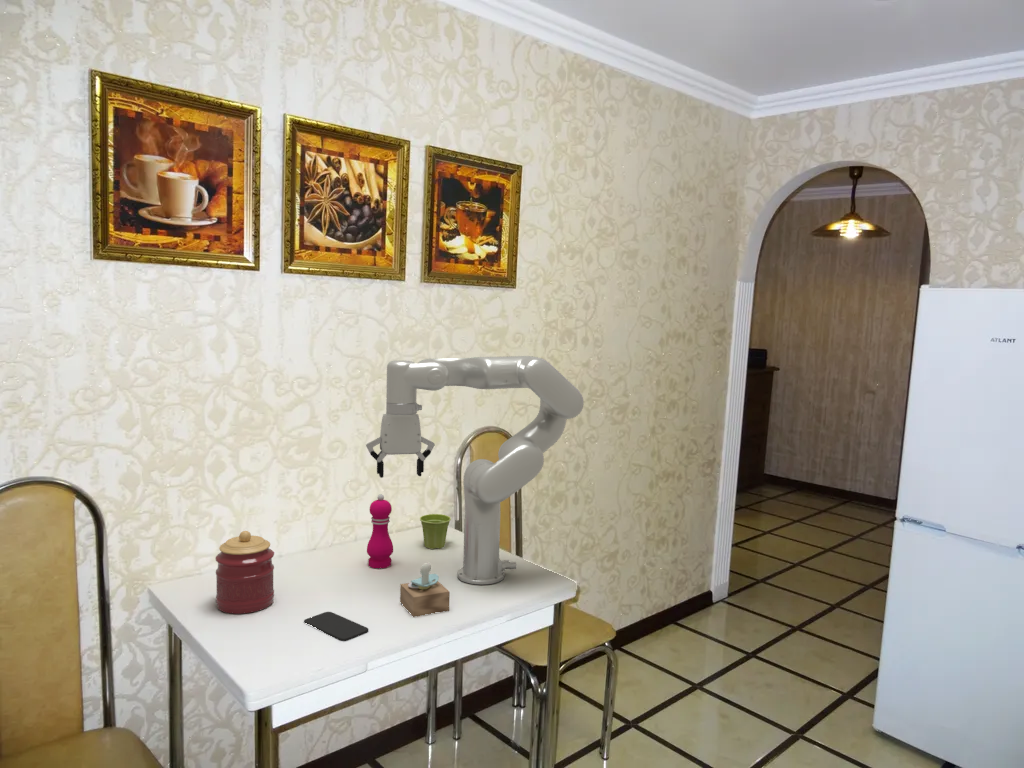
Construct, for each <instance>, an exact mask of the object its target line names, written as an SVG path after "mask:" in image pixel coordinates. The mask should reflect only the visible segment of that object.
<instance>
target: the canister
mask: <svg viewBox="0 0 1024 768" xmlns="http://www.w3.org/2000/svg"><path fill="white" fill-rule="evenodd" d="M270 547H271V542H270V540H269V541H268V539H265V538H263V537H262V536H258V535H252V534H251V532H250V531H249V530H243V531H241V532H240V533H239V534H238V536H235V537H231V538H229V539H228V540H226V541H225V542H224V543H221V544H220V546H219V547H218V549H219V551H220V552H218V553H217V554H216V556H215V561H216V562H217V569H216V570H215V575H216V578H215V579H216V595H215V603H216V607H217V609H218V610H219V611H221V612H223V613H226V614H235V615H239V614H240V615H241V614H250V613H255V612H258V611H262V610H264V609H267V608H268V607H269V606H271V605H272V604H273V602H274V598H275V589H274V570H275V565H274V564H273V559H272V558H273V557H274V556H275V552H274V551H273V550H272V549H271V548H270Z"/></svg>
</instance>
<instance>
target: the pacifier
mask: <svg viewBox="0 0 1024 768" xmlns="http://www.w3.org/2000/svg"><path fill="white" fill-rule="evenodd" d="M431 569H432V565H431V563H430V562H424V563H423V564H422V565H421V568H420V571H419V572H420V575H421V577H419V578H416V579H412V580H410V582H408V583H409V584H408V587H410V588H418V589H422V590H423V589H428V588H430V586H431V585H434V584H436V583H437V582H439V578H440V577H439V575H438V574H437V573H431ZM434 580H435V581H434ZM432 581H434V582H432ZM413 584H415V585H417V586H415V585H413Z"/></svg>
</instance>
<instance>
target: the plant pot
mask: <svg viewBox="0 0 1024 768" xmlns="http://www.w3.org/2000/svg"><path fill="white" fill-rule="evenodd" d="M419 521H420V523H421V525H422V527H421V528H422V534H423V545H424V547H425V548H427V549H430V550H434V549H443V548H444V547H445V546H446V541H447V535H448V528H449V525H450V522H451V521H452V518H451V516H449V515H446V514H443V513H441V514H440V513H428V514H424V515H422V516H420V517H419Z"/></svg>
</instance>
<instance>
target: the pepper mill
mask: <svg viewBox="0 0 1024 768" xmlns="http://www.w3.org/2000/svg"><path fill="white" fill-rule="evenodd" d="M392 510H393V509H392V505H391V502H390V501H388V500H387V499H385V496H384V494H383V493H380V494H378V495H377V499H376V500H374V501H373V502H371V503H370V506H369V514H370V515H371V516H372V517H371V518H370V519H371V524H372V532H371V536H370V537H369V540H368V542H367V546H366V554H367V555H368V556H369V558H368V567H369V566H370V567H369V568H371V567H372V569H376V568H378V569H377V570H379V568H380V570H381V568H382V569H387V568H389V567H391V565H392V557H391V555H393V553H394V545H393V541H392V539H391V537H390V534H389V533H390V532H389V527H388V526H389V523H390V522H391V521H390V514H391V513H392Z"/></svg>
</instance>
